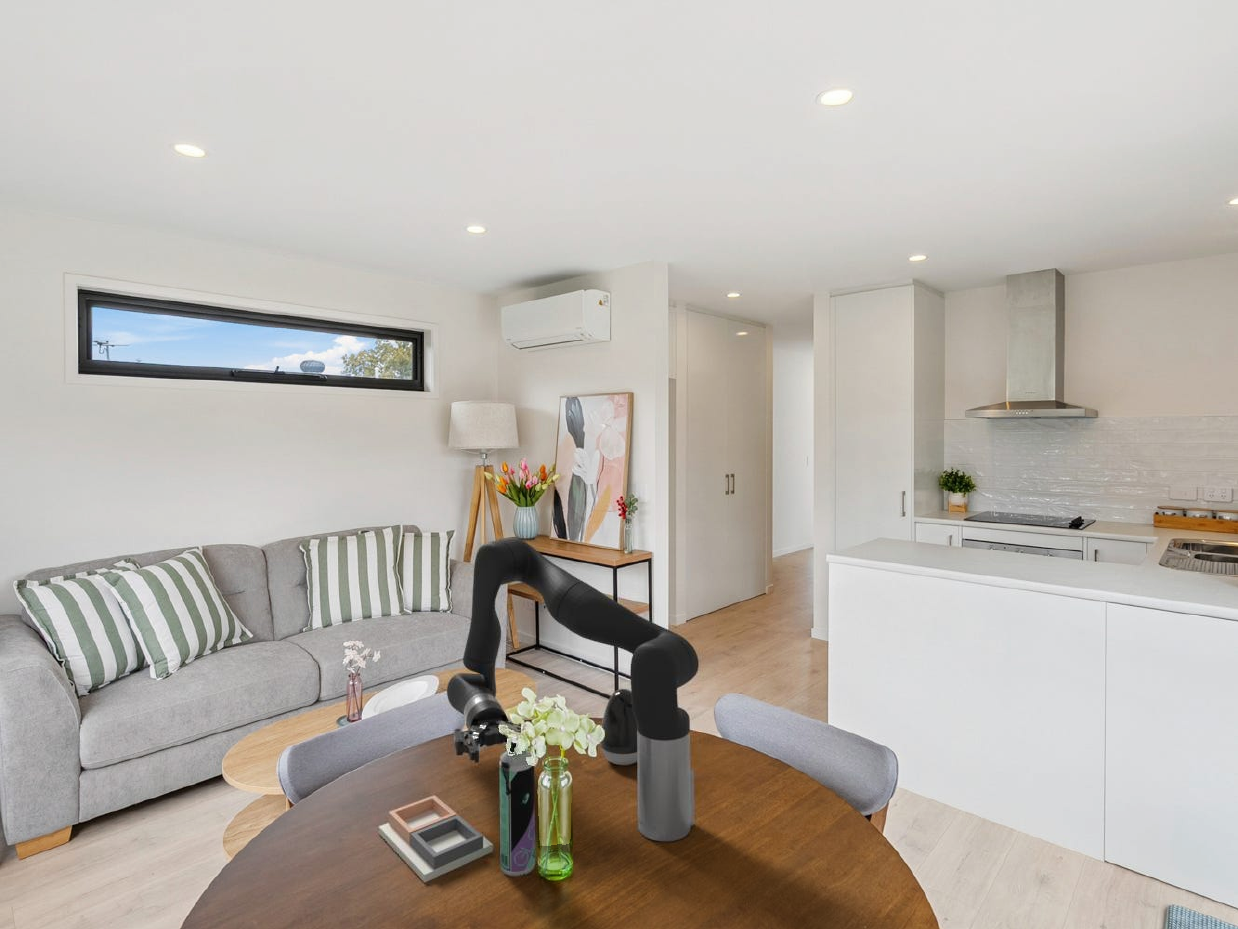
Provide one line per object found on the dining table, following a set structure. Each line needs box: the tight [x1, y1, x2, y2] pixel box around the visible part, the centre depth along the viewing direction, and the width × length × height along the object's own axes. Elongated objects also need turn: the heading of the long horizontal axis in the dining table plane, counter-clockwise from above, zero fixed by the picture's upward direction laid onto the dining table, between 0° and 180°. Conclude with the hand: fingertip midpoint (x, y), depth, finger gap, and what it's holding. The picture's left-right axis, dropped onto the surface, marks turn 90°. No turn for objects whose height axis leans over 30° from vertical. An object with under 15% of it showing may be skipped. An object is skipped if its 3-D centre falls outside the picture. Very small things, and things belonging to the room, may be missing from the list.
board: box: [378, 794, 494, 883], centre depth 113 cm, size 12×18×3 cm, turn 41°
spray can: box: [498, 742, 536, 877], centre depth 106 cm, size 6×6×20 cm
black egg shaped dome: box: [599, 688, 637, 766], centre depth 143 cm, size 10×10×15 cm
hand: (501, 753), depth 117 cm, fingers open, 8 cm apart
